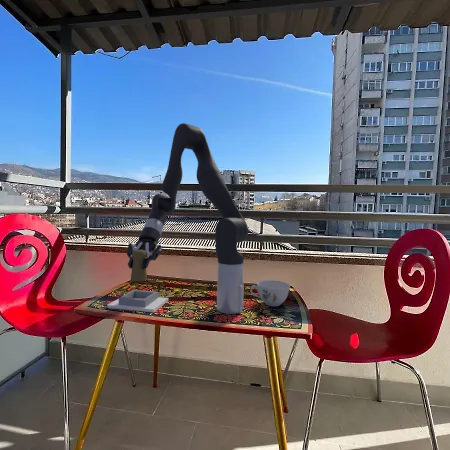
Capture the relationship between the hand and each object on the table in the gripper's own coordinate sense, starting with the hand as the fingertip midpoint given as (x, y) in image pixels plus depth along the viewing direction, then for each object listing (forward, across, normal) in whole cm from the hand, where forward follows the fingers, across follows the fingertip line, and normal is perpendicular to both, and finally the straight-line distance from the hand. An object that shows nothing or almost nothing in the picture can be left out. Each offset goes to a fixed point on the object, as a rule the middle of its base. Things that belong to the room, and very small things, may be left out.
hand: (136, 267), depth 101 cm
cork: (+2, 0, +5) cm, 5 cm away
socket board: (+9, 0, +11) cm, 14 cm away
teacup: (0, +48, +20) cm, 52 cm away
